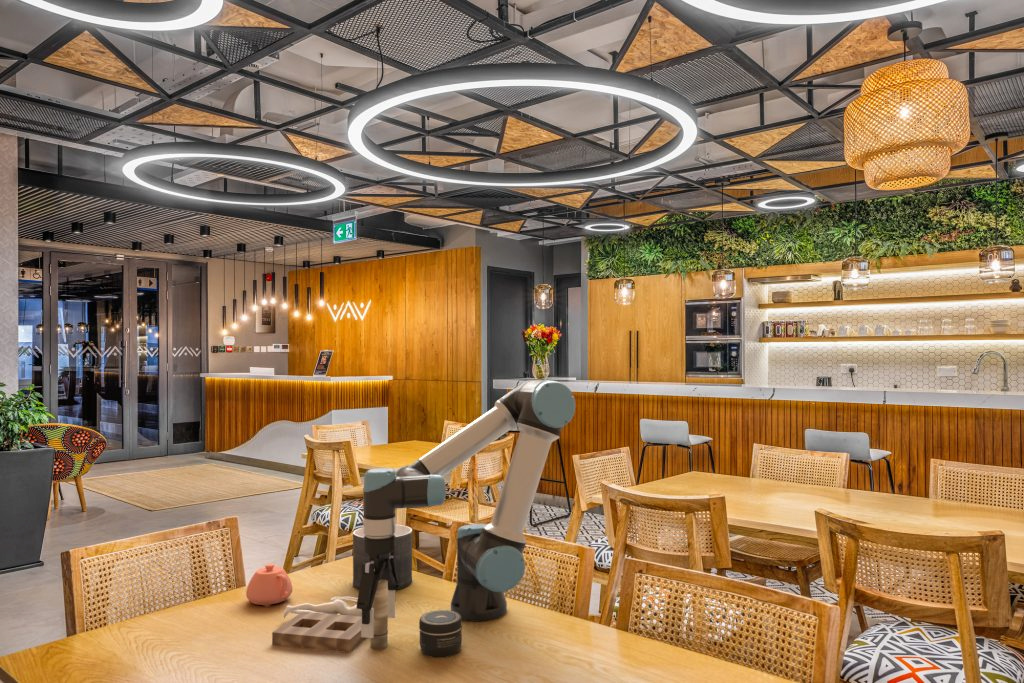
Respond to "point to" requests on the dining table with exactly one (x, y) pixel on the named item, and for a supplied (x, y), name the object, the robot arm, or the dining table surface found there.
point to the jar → (440, 633)
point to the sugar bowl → (269, 586)
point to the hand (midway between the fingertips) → (378, 626)
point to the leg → (380, 616)
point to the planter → (401, 555)
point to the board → (320, 632)
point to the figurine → (327, 607)
